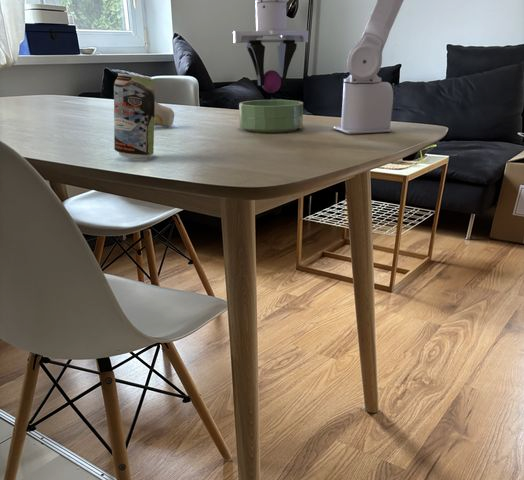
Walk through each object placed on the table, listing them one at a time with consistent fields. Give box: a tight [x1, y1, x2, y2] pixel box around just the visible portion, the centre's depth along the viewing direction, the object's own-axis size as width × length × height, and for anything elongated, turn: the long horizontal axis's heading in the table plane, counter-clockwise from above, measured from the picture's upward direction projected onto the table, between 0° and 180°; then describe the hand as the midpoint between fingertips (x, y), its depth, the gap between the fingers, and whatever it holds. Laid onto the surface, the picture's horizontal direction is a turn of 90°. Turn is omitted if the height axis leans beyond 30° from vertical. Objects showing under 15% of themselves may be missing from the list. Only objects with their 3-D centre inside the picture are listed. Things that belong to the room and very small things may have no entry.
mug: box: [154, 101, 175, 128], centre depth 110 cm, size 8×10×10 cm
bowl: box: [238, 99, 304, 134], centre depth 107 cm, size 13×13×5 cm
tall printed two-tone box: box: [113, 72, 156, 159], centre depth 79 cm, size 6×7×12 cm
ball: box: [261, 69, 282, 94], centre depth 102 cm, size 4×4×4 cm
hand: (271, 85), depth 102 cm, fingers closed on ball, 4 cm apart
